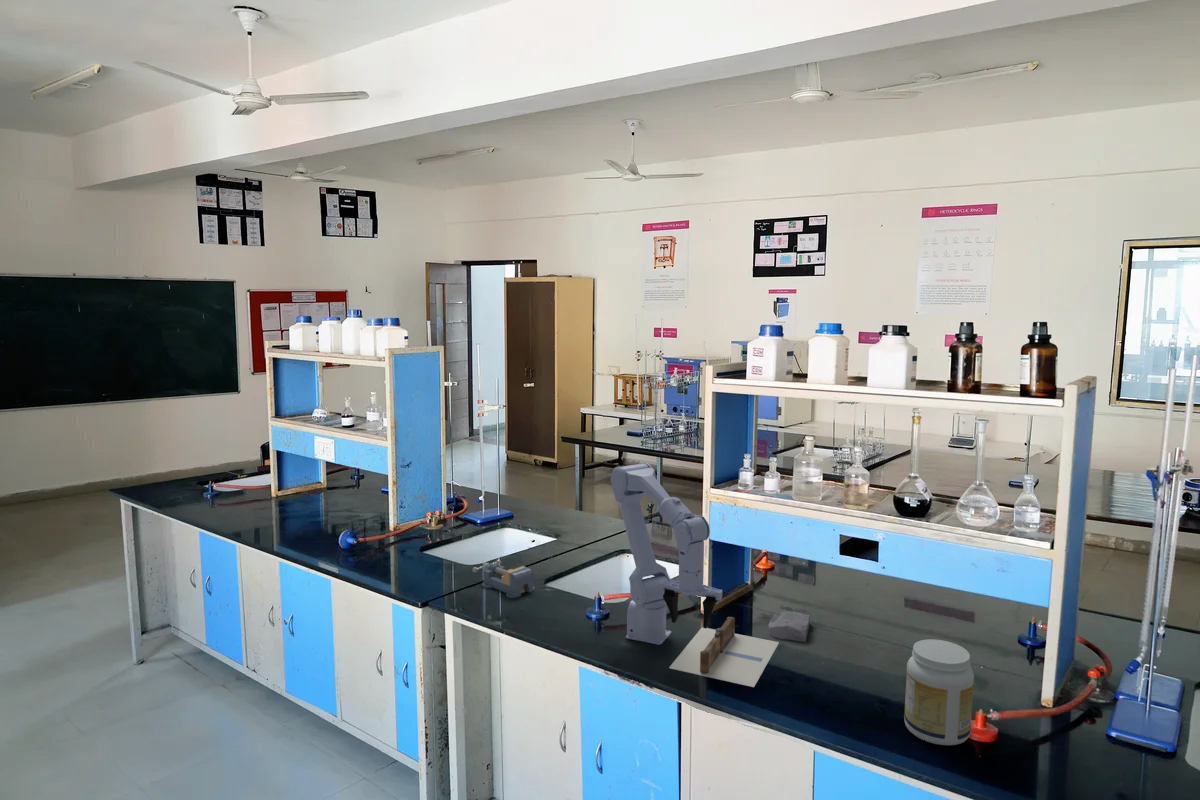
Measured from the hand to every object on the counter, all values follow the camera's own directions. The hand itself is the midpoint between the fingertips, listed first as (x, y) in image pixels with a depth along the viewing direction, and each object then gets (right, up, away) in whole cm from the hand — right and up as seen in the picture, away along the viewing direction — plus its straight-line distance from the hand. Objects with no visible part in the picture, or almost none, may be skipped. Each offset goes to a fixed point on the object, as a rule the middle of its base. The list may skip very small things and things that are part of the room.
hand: (690, 623), depth 182 cm
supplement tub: (+46, -14, -27) cm, 55 cm away
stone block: (+27, -7, +17) cm, 33 cm away
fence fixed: (+10, -8, +10) cm, 16 cm away
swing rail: (+5, -9, +1) cm, 10 cm away
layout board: (+9, -9, +4) cm, 13 cm away
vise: (-49, -3, +48) cm, 69 cm away
